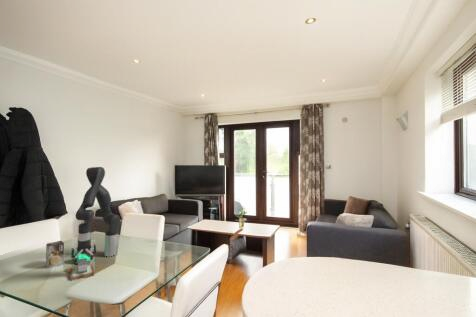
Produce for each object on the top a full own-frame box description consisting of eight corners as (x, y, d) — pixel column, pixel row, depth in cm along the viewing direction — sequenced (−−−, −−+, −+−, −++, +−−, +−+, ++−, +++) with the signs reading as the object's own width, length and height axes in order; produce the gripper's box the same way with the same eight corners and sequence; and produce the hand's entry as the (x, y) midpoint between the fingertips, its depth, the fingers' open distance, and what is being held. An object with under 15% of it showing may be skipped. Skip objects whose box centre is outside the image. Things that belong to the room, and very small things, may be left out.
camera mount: (90, 261, 182) (91, 248, 182) (79, 265, 176) (80, 251, 175) (83, 256, 189) (84, 244, 188) (72, 260, 183) (73, 246, 182)
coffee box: (60, 261, 179) (61, 240, 179) (63, 264, 175) (64, 242, 175) (45, 265, 172) (46, 243, 171) (48, 268, 168) (49, 246, 167)
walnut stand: (91, 267, 174) (92, 264, 174) (93, 275, 164) (94, 272, 164) (70, 271, 167) (70, 268, 166) (70, 280, 156) (70, 277, 156)
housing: (86, 266, 170) (86, 258, 170) (87, 272, 164) (87, 262, 163) (77, 268, 167) (78, 259, 167) (78, 274, 161) (78, 264, 160)
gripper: (95, 234, 171) (94, 256, 172) (71, 238, 163) (70, 261, 164) (97, 238, 166) (96, 261, 167) (72, 242, 157) (71, 266, 158)
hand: (83, 261), depth 165 cm, fingers open, 8 cm apart
